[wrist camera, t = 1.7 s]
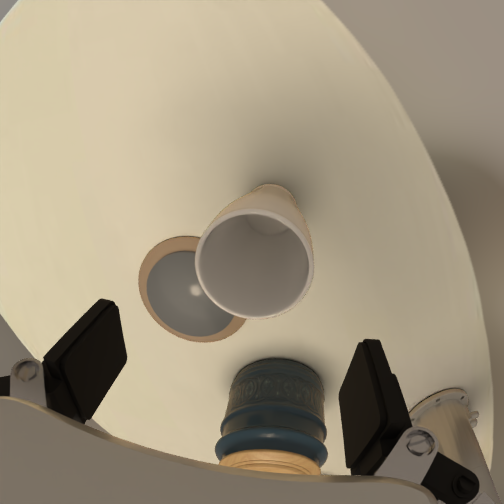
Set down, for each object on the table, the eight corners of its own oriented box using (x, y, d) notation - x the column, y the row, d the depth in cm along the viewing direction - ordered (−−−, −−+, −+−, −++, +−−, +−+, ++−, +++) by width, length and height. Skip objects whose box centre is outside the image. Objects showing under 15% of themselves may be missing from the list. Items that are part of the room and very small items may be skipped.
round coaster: (257, 244, 32) (255, 248, 31) (246, 348, 37) (245, 354, 36) (136, 229, 33) (132, 233, 32) (144, 328, 38) (141, 333, 37)
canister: (311, 346, 35) (315, 470, 19) (331, 407, 39) (337, 510, 23) (217, 365, 38) (181, 475, 22) (250, 420, 42) (233, 516, 26)
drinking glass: (249, 166, 29) (211, 189, 15) (314, 190, 29) (336, 234, 15) (229, 227, 31) (181, 298, 17) (290, 249, 31) (288, 336, 17)
